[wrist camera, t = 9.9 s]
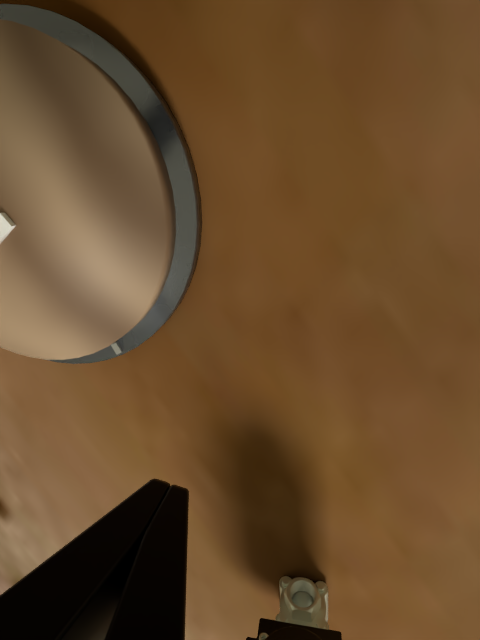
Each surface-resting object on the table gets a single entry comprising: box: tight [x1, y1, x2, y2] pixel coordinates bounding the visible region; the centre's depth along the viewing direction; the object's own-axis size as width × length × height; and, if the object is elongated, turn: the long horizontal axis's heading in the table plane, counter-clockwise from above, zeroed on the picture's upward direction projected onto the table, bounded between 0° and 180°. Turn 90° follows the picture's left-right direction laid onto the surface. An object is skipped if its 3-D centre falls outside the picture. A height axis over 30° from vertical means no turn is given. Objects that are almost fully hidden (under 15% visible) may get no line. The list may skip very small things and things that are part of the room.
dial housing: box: [0, 4, 202, 364], centre depth 20 cm, size 18×18×1 cm
